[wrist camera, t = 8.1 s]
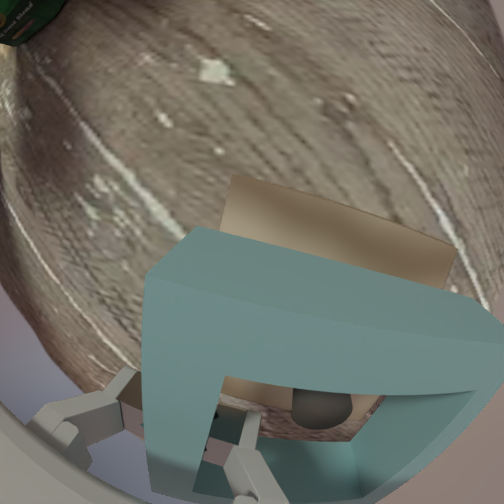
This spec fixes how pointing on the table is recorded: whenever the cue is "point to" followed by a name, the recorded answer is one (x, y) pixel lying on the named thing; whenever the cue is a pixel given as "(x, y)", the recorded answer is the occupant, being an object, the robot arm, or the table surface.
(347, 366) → the teal loop
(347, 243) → the peg stand
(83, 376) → the table surface
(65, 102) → the table surface
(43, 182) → the table surface
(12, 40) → the coffee jar
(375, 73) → the table surface
